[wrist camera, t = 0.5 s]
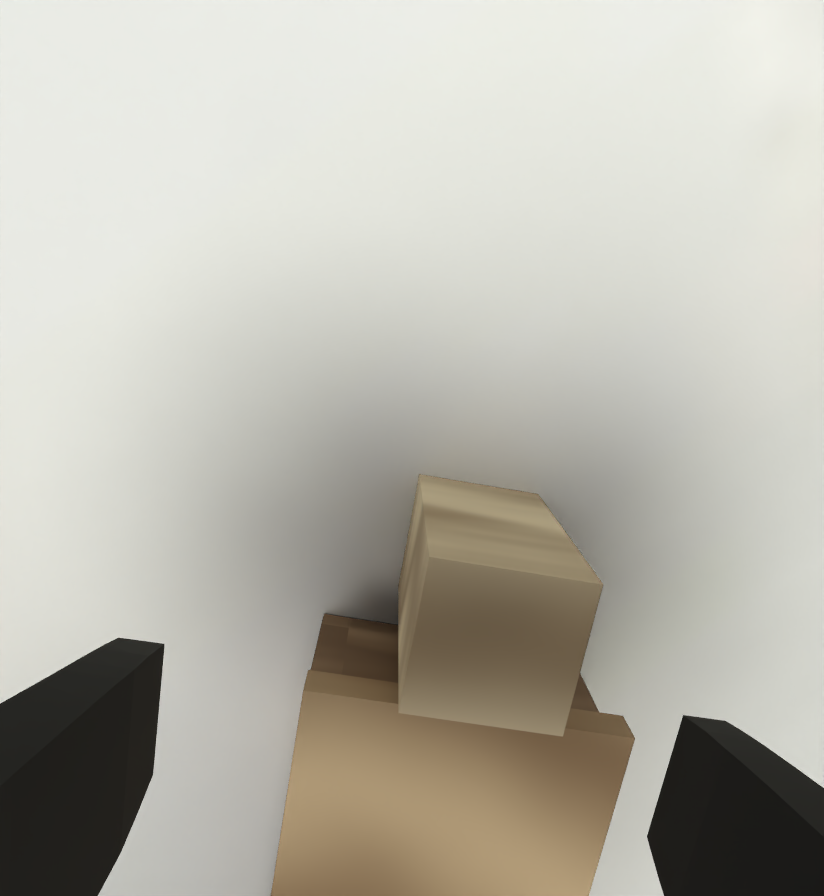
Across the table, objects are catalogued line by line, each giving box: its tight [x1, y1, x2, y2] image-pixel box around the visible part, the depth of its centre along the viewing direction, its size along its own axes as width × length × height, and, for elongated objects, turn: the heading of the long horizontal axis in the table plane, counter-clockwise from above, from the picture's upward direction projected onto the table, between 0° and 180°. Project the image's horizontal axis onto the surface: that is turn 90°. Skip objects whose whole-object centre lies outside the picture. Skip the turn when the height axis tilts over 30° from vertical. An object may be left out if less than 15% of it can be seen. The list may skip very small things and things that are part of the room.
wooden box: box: [311, 614, 599, 712], centre depth 19 cm, size 14×8×4 cm, turn 170°
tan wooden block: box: [398, 474, 603, 737], centre depth 16 cm, size 4×4×6 cm
